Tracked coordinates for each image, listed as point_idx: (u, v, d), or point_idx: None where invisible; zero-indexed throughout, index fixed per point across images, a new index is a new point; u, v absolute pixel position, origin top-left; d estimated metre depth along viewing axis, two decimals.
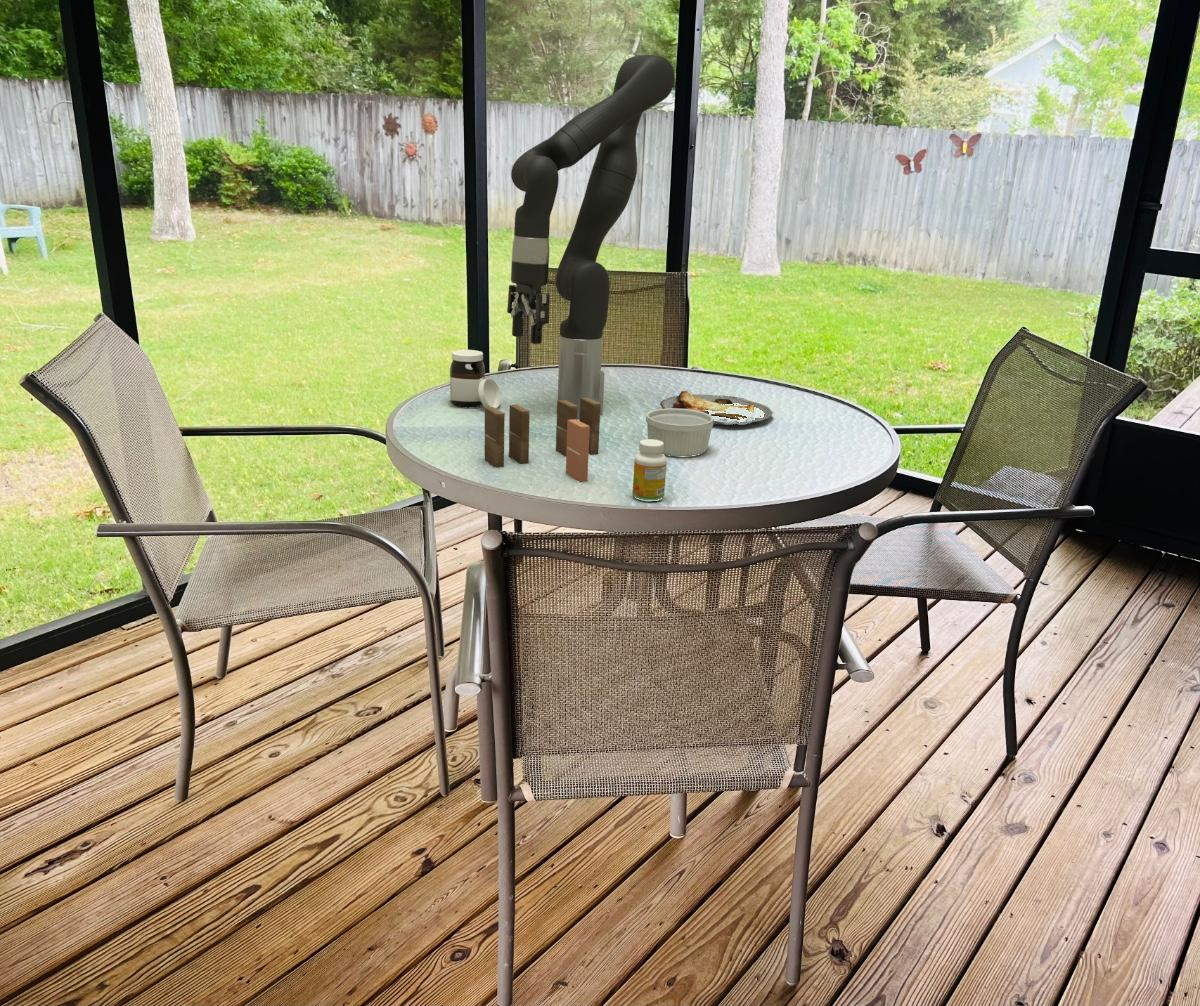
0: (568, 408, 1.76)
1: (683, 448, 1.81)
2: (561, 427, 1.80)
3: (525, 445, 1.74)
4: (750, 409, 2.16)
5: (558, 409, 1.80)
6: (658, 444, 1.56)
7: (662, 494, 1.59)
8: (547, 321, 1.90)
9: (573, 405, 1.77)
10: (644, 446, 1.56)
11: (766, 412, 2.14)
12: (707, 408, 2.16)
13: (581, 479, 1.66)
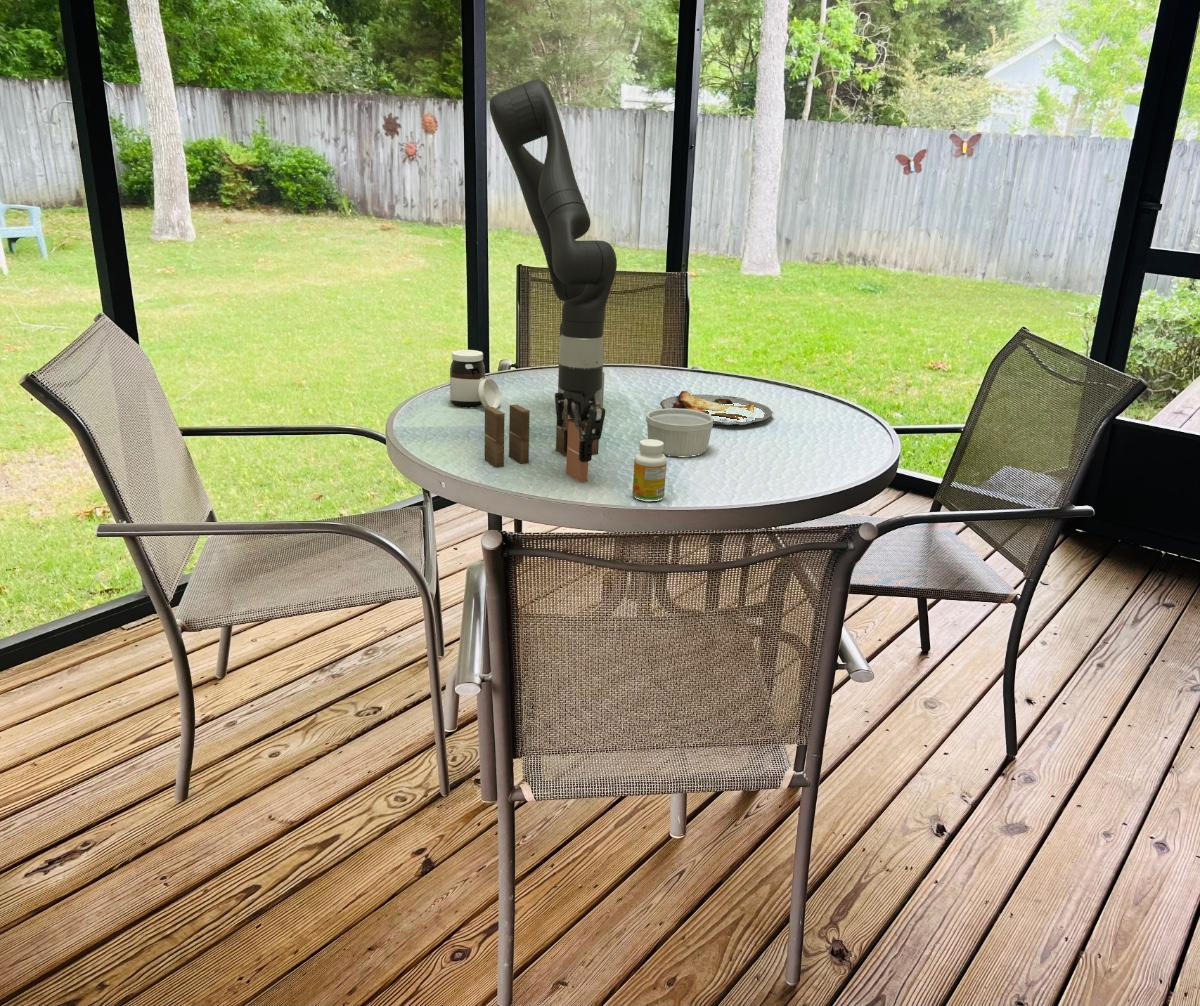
0: None
1: (683, 448, 1.81)
2: (561, 427, 1.80)
3: (525, 445, 1.74)
4: (750, 409, 2.16)
5: None
6: (658, 444, 1.56)
7: (662, 494, 1.59)
8: (598, 438, 1.62)
9: None
10: (644, 446, 1.56)
11: (766, 412, 2.14)
12: (707, 408, 2.16)
13: (581, 479, 1.66)
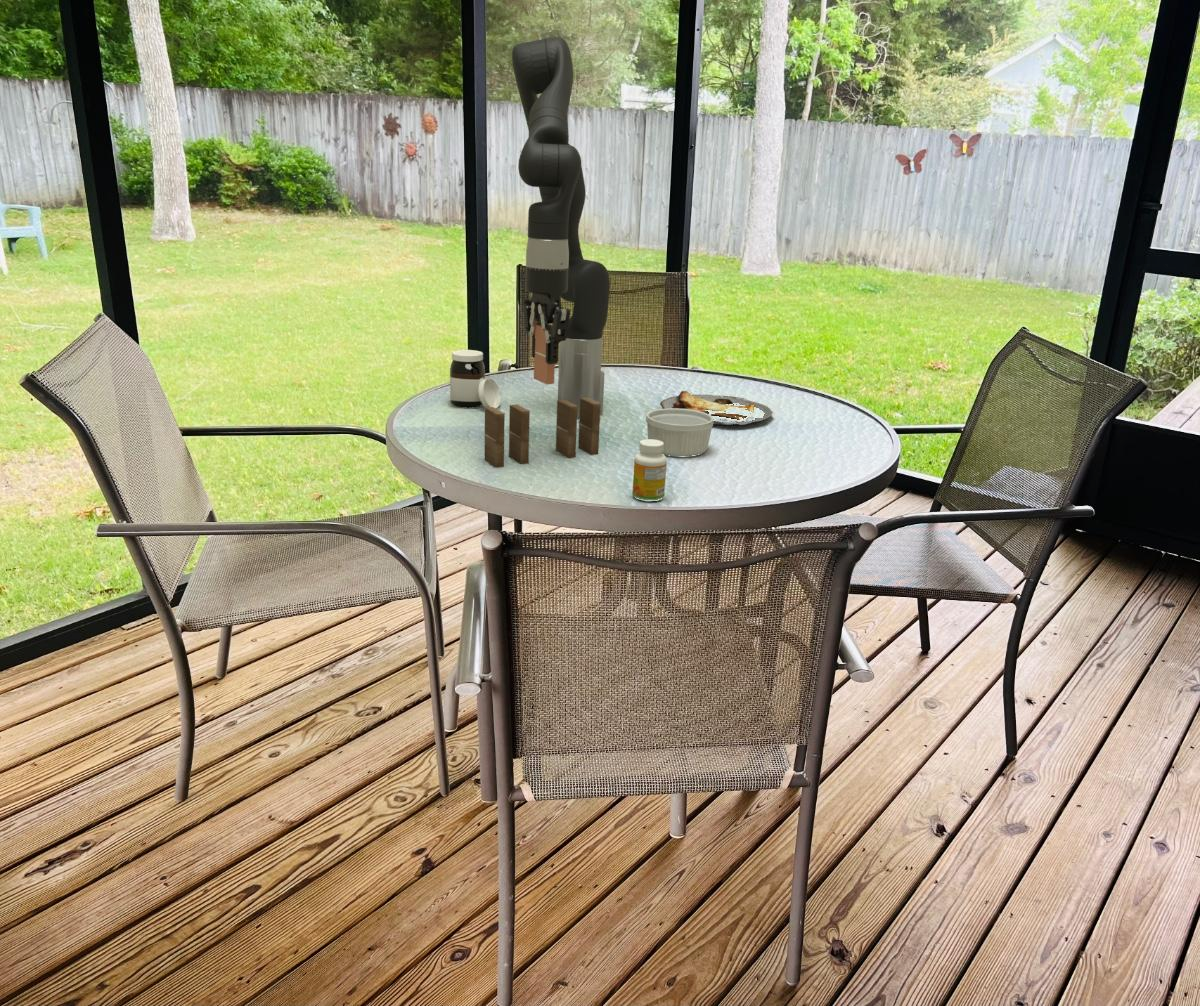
0: (568, 408, 1.76)
1: (683, 448, 1.81)
2: (561, 427, 1.80)
3: (525, 445, 1.74)
4: (750, 409, 2.16)
5: (558, 409, 1.80)
6: (658, 444, 1.56)
7: (662, 494, 1.59)
8: (564, 339, 1.67)
9: (573, 405, 1.77)
10: (644, 446, 1.56)
11: (766, 412, 2.14)
12: (707, 408, 2.16)
13: (548, 381, 1.72)
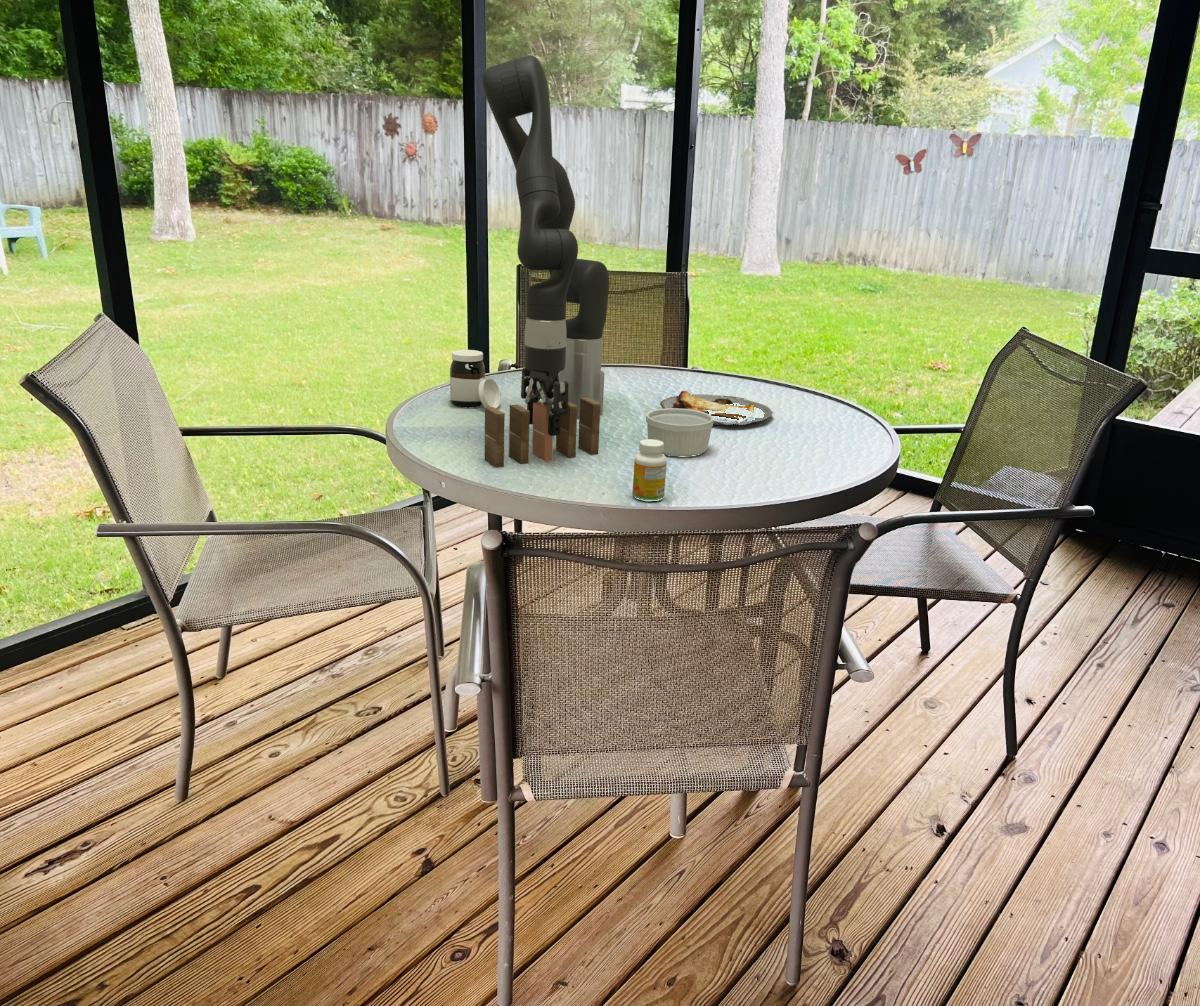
0: (568, 408, 1.76)
1: (683, 448, 1.81)
2: (561, 427, 1.80)
3: (525, 445, 1.74)
4: (750, 409, 2.16)
5: None
6: (658, 444, 1.56)
7: (662, 494, 1.59)
8: (566, 412, 1.70)
9: (573, 405, 1.77)
10: (644, 446, 1.56)
11: (766, 412, 2.14)
12: (707, 408, 2.17)
13: (546, 458, 1.77)
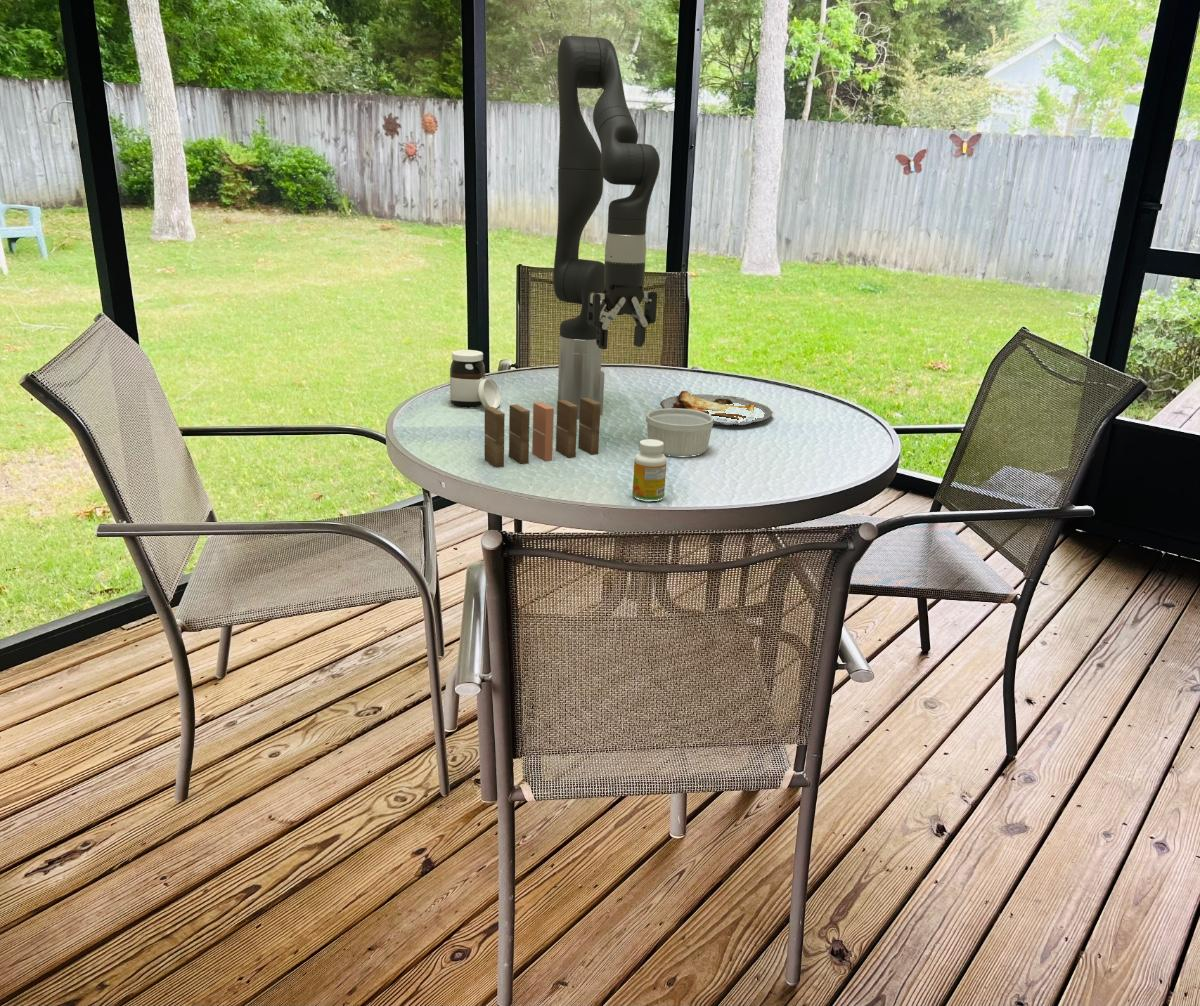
0: (568, 408, 1.76)
1: (683, 448, 1.81)
2: (561, 427, 1.80)
3: (525, 445, 1.74)
4: (750, 409, 2.16)
5: (558, 409, 1.80)
6: (658, 444, 1.56)
7: (662, 494, 1.59)
8: (593, 323, 1.75)
9: (573, 405, 1.77)
10: (644, 446, 1.56)
11: (766, 412, 2.14)
12: (707, 408, 2.17)
13: (546, 458, 1.77)
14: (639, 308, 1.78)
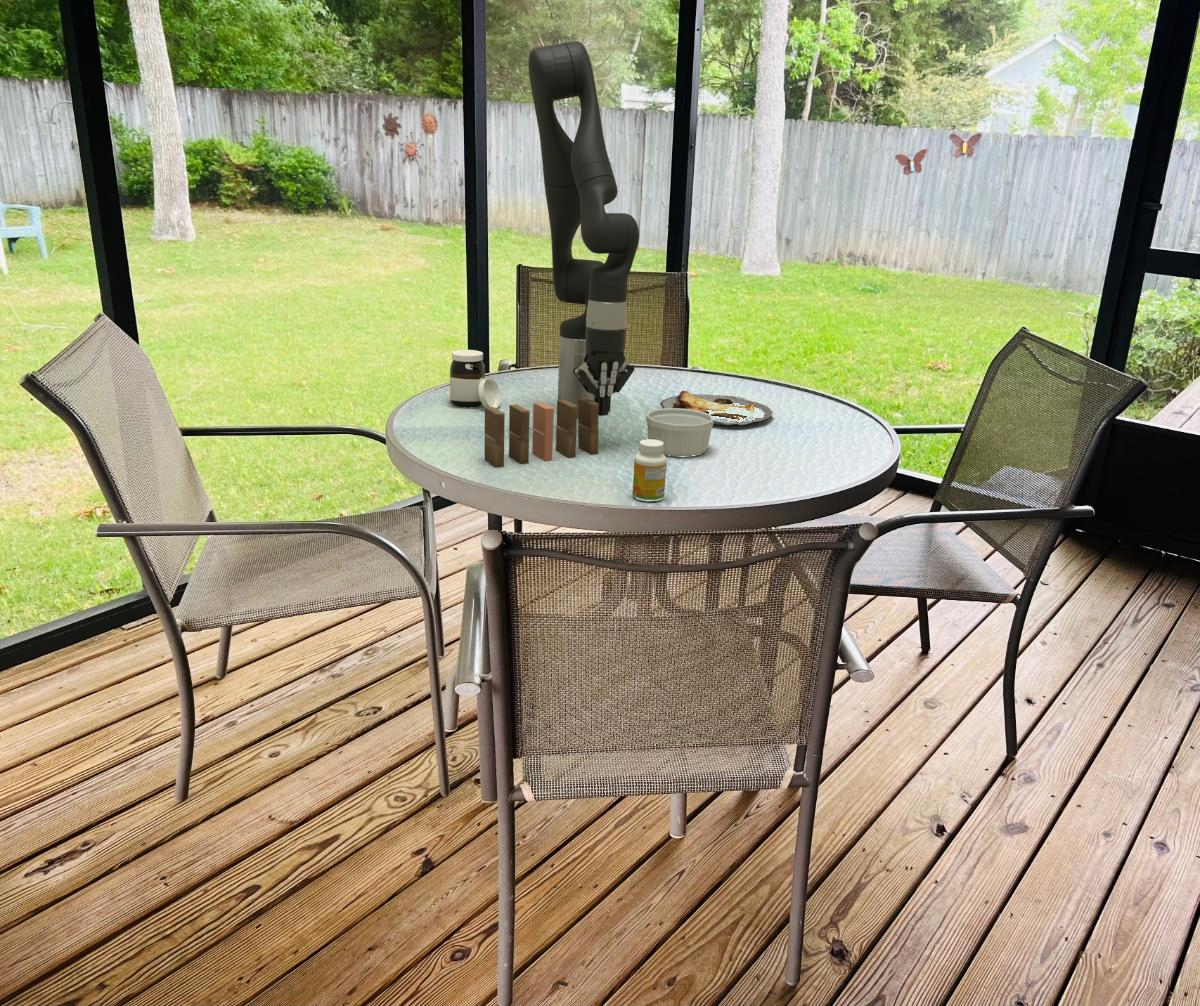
0: (568, 408, 1.76)
1: (683, 448, 1.81)
2: (561, 427, 1.80)
3: (525, 445, 1.74)
4: (750, 409, 2.16)
5: (558, 409, 1.80)
6: (658, 444, 1.56)
7: (662, 494, 1.59)
8: (592, 393, 1.79)
9: (573, 405, 1.77)
10: (644, 446, 1.56)
11: (766, 412, 2.14)
12: (707, 408, 2.17)
13: (546, 458, 1.77)
14: (614, 375, 1.80)
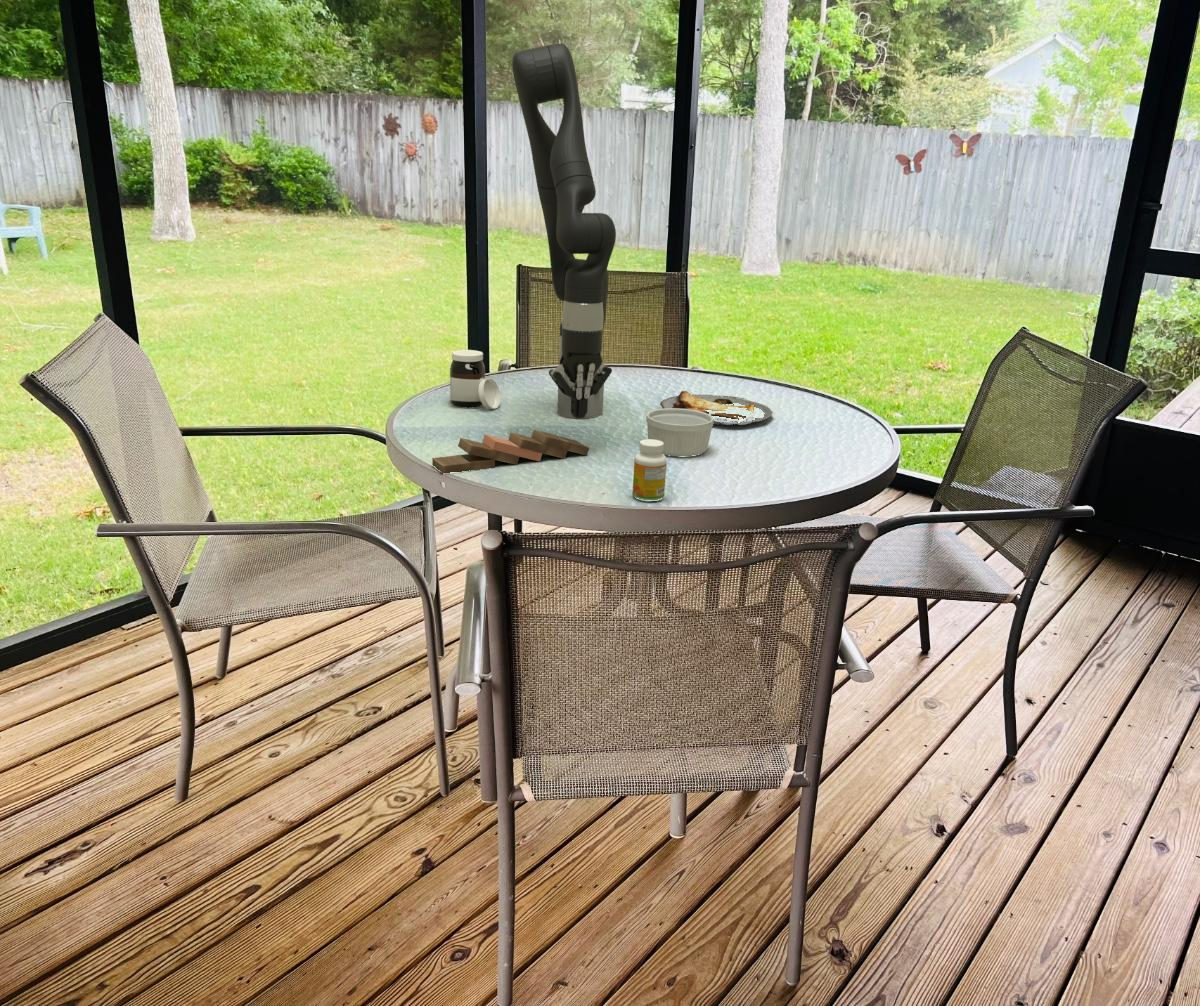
0: None
1: (683, 448, 1.81)
2: None
3: (501, 456, 1.72)
4: (750, 409, 2.16)
5: None
6: (658, 444, 1.56)
7: (662, 494, 1.59)
8: (568, 396, 1.77)
9: (520, 441, 1.73)
10: (644, 446, 1.56)
11: (766, 412, 2.14)
12: (707, 408, 2.17)
13: (538, 458, 1.76)
14: (591, 377, 1.77)
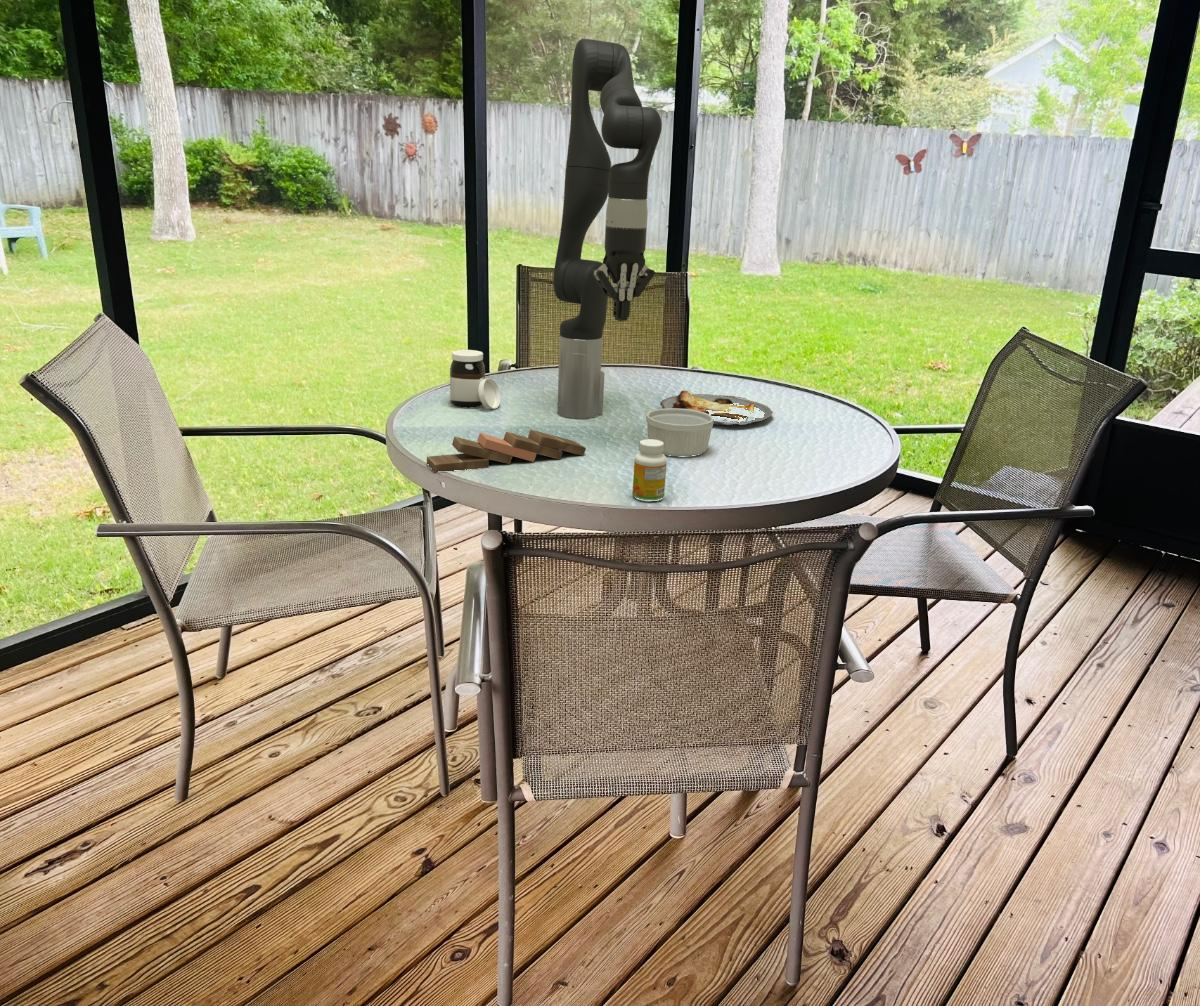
0: (514, 446, 1.74)
1: (683, 448, 1.81)
2: None
3: (493, 455, 1.72)
4: (750, 409, 2.16)
5: None
6: (658, 444, 1.56)
7: (662, 494, 1.59)
8: (611, 296, 1.75)
9: (513, 440, 1.73)
10: (644, 446, 1.56)
11: (766, 412, 2.14)
12: (707, 408, 2.17)
13: (532, 459, 1.75)
14: (634, 278, 1.75)
